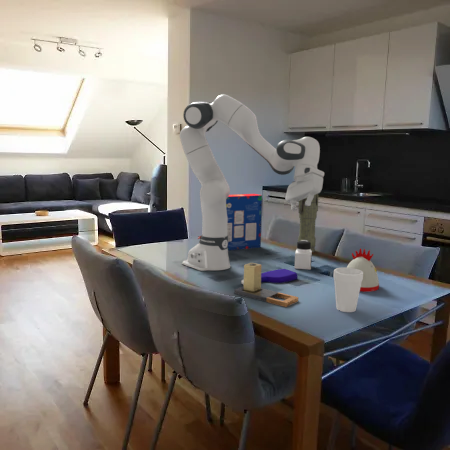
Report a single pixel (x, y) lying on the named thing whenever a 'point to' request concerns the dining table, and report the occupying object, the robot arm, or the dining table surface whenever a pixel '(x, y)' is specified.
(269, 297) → the peg insertion board
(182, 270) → the dining table surface
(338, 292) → the foam cup
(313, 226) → the olive green tall piece
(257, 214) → the pasta box
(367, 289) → the kitchen timer
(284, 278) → the purple flat blob
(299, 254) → the medicine bottle
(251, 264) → the tan square peg
